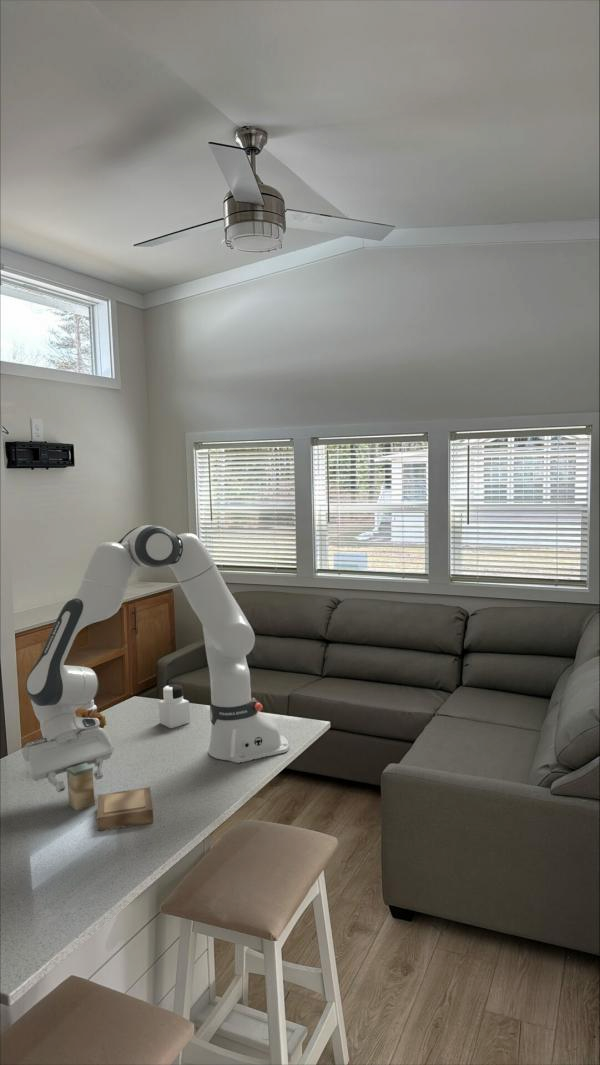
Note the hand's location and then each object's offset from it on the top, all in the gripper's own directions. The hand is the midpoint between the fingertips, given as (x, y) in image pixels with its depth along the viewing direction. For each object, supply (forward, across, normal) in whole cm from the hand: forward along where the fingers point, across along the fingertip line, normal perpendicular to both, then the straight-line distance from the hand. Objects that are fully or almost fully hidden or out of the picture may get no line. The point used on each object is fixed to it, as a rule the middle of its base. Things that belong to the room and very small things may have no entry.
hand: (81, 784), depth 168 cm
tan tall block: (+3, 0, +4) cm, 5 cm away
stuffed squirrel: (-19, +14, +27) cm, 36 cm away
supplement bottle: (-29, +21, +36) cm, 51 cm away
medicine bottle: (-20, +44, +28) cm, 56 cm away
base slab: (+12, +5, -5) cm, 14 cm away
